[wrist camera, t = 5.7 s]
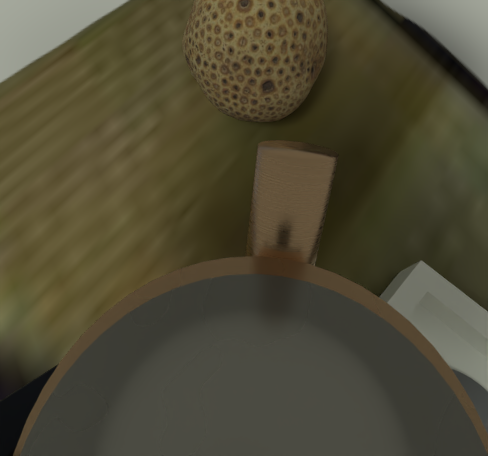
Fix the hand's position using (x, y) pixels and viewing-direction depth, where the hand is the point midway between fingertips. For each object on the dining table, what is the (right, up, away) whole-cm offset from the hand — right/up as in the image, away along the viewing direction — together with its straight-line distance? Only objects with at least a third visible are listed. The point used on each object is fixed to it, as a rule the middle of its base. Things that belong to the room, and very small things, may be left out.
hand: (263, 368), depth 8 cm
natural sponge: (0, +13, +19) cm, 23 cm away
